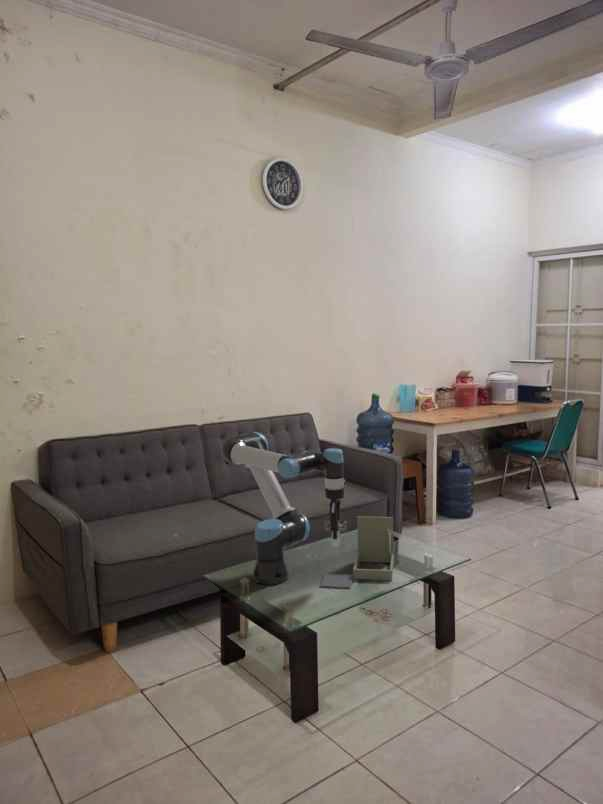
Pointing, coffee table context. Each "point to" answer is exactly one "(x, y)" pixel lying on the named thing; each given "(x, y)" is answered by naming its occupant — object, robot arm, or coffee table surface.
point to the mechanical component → (338, 525)
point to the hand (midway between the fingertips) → (336, 544)
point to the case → (374, 546)
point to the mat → (336, 581)
